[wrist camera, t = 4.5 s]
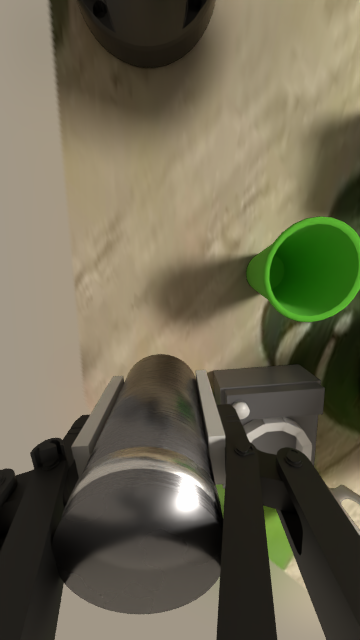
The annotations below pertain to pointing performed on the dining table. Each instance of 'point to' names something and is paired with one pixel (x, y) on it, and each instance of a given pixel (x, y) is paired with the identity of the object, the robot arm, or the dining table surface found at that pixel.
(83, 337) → the dining table surface
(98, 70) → the dining table surface
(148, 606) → the lens
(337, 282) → the cup
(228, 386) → the camera body
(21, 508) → the robot arm
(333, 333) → the dining table surface
